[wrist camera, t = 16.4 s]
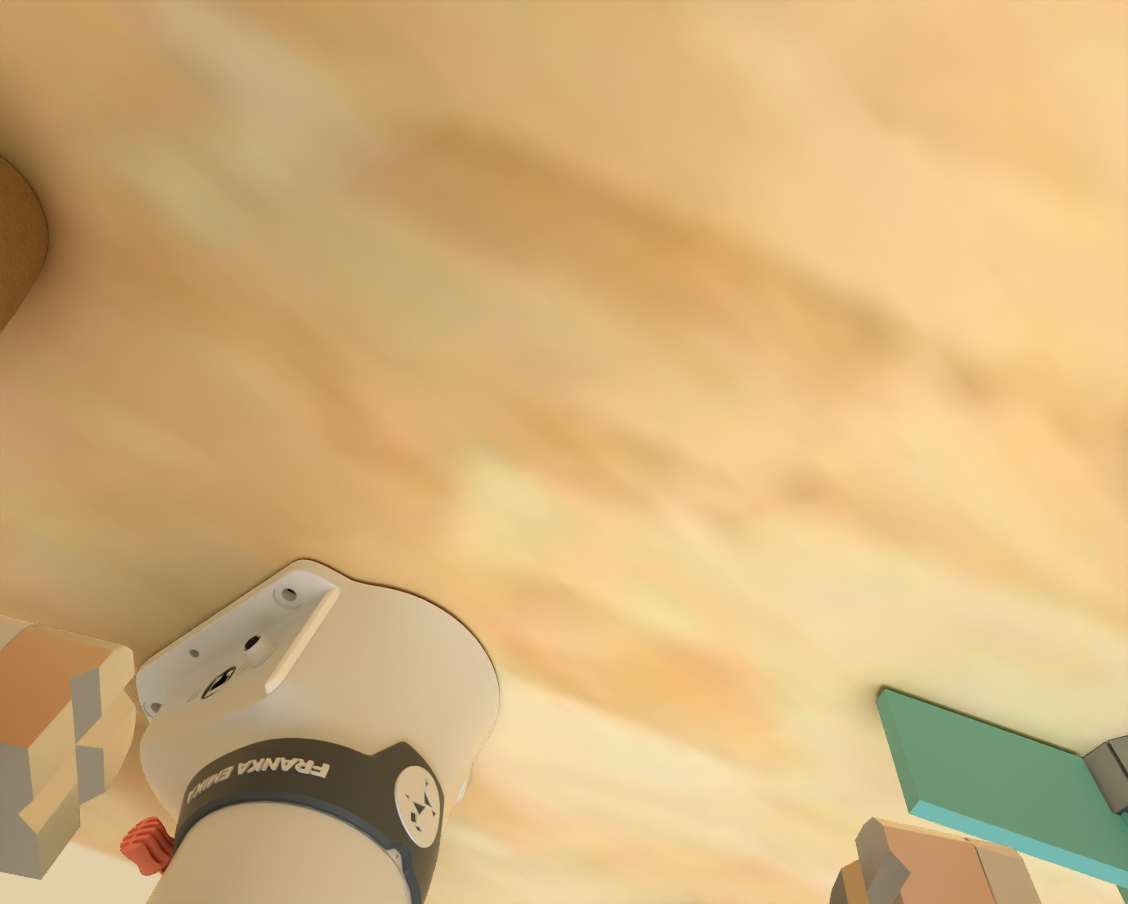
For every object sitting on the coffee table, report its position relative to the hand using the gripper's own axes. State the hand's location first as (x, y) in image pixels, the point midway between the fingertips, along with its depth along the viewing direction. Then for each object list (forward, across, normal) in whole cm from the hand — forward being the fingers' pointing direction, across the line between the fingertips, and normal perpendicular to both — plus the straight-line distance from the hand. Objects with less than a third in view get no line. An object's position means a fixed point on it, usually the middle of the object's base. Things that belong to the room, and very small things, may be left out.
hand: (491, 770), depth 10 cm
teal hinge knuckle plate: (+34, -30, +25) cm, 51 cm away
